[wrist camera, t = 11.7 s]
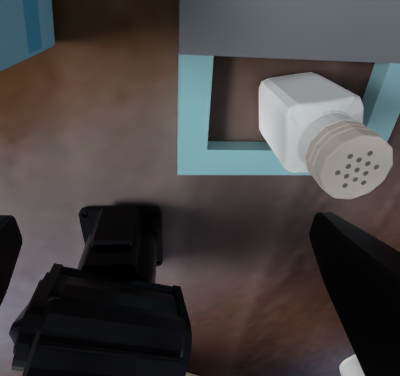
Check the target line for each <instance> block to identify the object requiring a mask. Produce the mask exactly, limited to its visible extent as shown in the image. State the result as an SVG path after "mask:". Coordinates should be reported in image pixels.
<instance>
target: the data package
mask: <svg viewBox="0 0 400 376" xmlns="http://www.w3.org/2000/svg"><path fill="white" fill-rule="evenodd" d="M54 44H55V37H54V24H53V11H52V0H0V71H2V70H4V69H6V68H8V67H10V66H12V65H15V64H17V63H19V62H21V61H23V60H26V59H28V58H30V57H32V56H34V55H36V54H39V53H41V52H43V51H45V50H47V49H50V48H52V47H53V46H54Z"/></svg>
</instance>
